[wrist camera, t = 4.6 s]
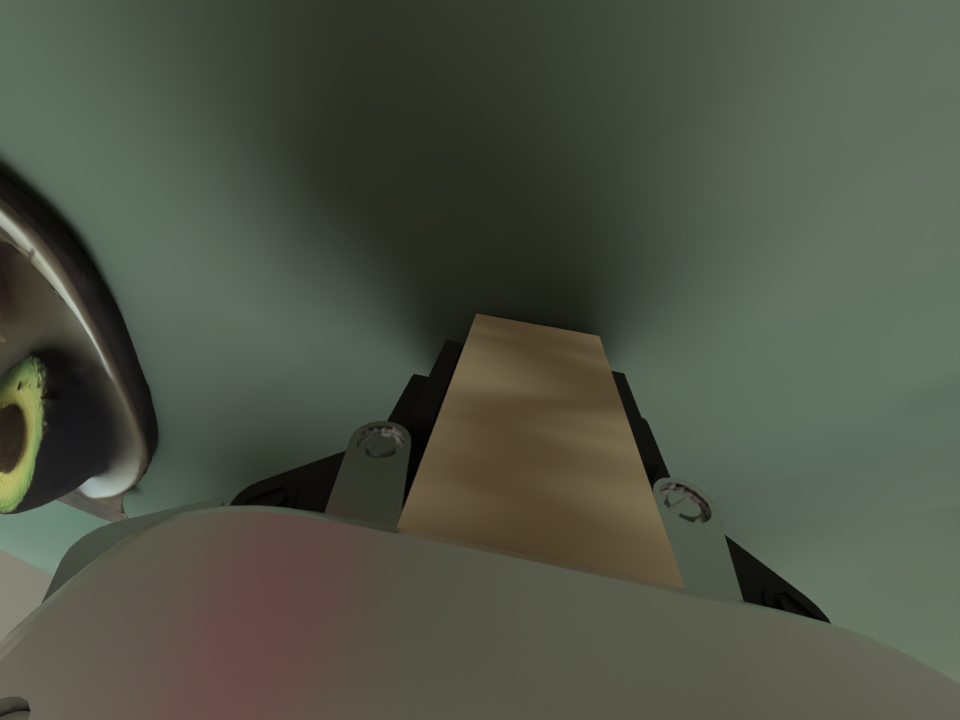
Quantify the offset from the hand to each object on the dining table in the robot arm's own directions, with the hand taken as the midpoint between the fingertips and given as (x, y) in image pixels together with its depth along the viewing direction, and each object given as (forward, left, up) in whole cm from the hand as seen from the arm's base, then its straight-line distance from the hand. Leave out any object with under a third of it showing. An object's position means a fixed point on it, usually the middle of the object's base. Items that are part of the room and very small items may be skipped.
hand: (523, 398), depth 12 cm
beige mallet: (0, +10, -1) cm, 10 cm away
